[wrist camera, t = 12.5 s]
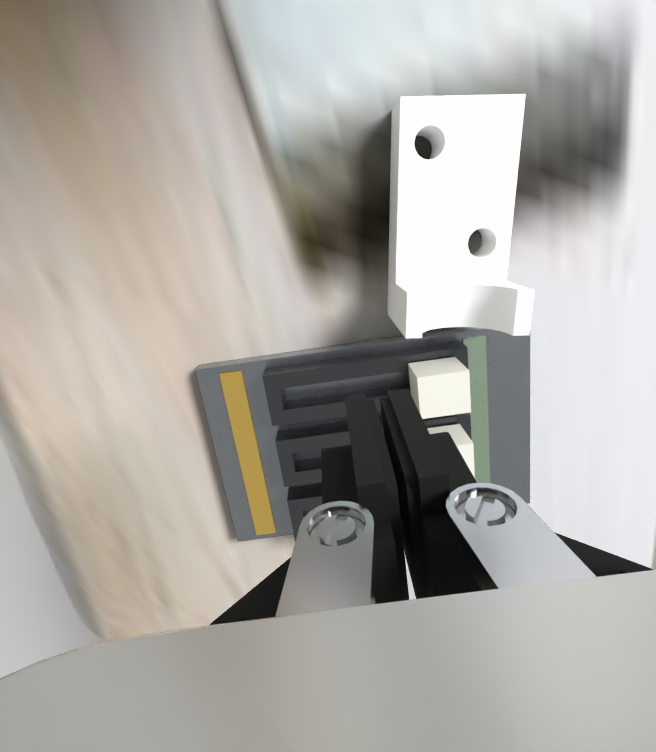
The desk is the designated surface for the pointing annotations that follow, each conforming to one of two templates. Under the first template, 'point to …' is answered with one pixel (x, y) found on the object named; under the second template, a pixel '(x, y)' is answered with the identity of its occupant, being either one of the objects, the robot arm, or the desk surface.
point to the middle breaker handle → (459, 442)
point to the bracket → (455, 214)
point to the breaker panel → (329, 417)
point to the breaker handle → (440, 387)
